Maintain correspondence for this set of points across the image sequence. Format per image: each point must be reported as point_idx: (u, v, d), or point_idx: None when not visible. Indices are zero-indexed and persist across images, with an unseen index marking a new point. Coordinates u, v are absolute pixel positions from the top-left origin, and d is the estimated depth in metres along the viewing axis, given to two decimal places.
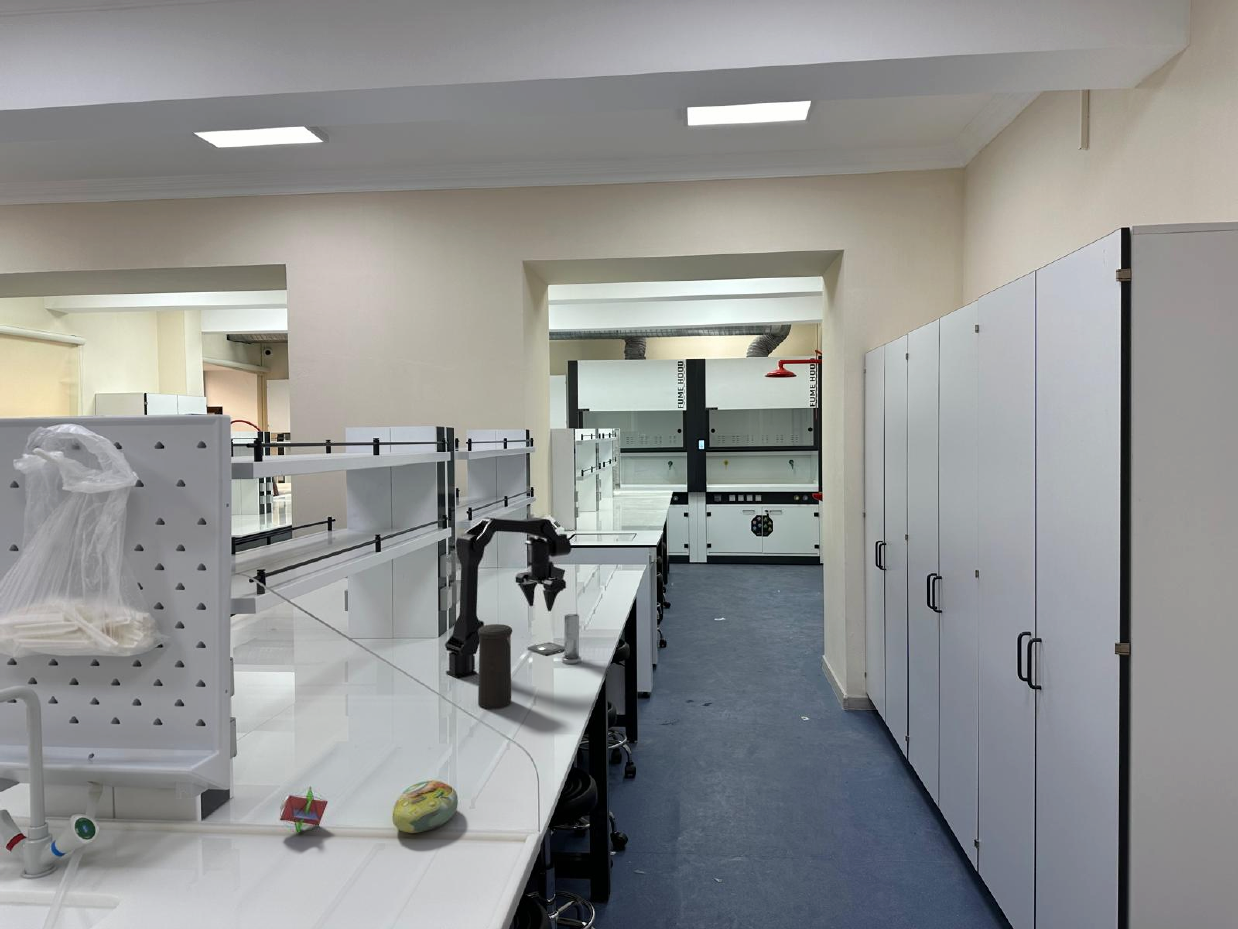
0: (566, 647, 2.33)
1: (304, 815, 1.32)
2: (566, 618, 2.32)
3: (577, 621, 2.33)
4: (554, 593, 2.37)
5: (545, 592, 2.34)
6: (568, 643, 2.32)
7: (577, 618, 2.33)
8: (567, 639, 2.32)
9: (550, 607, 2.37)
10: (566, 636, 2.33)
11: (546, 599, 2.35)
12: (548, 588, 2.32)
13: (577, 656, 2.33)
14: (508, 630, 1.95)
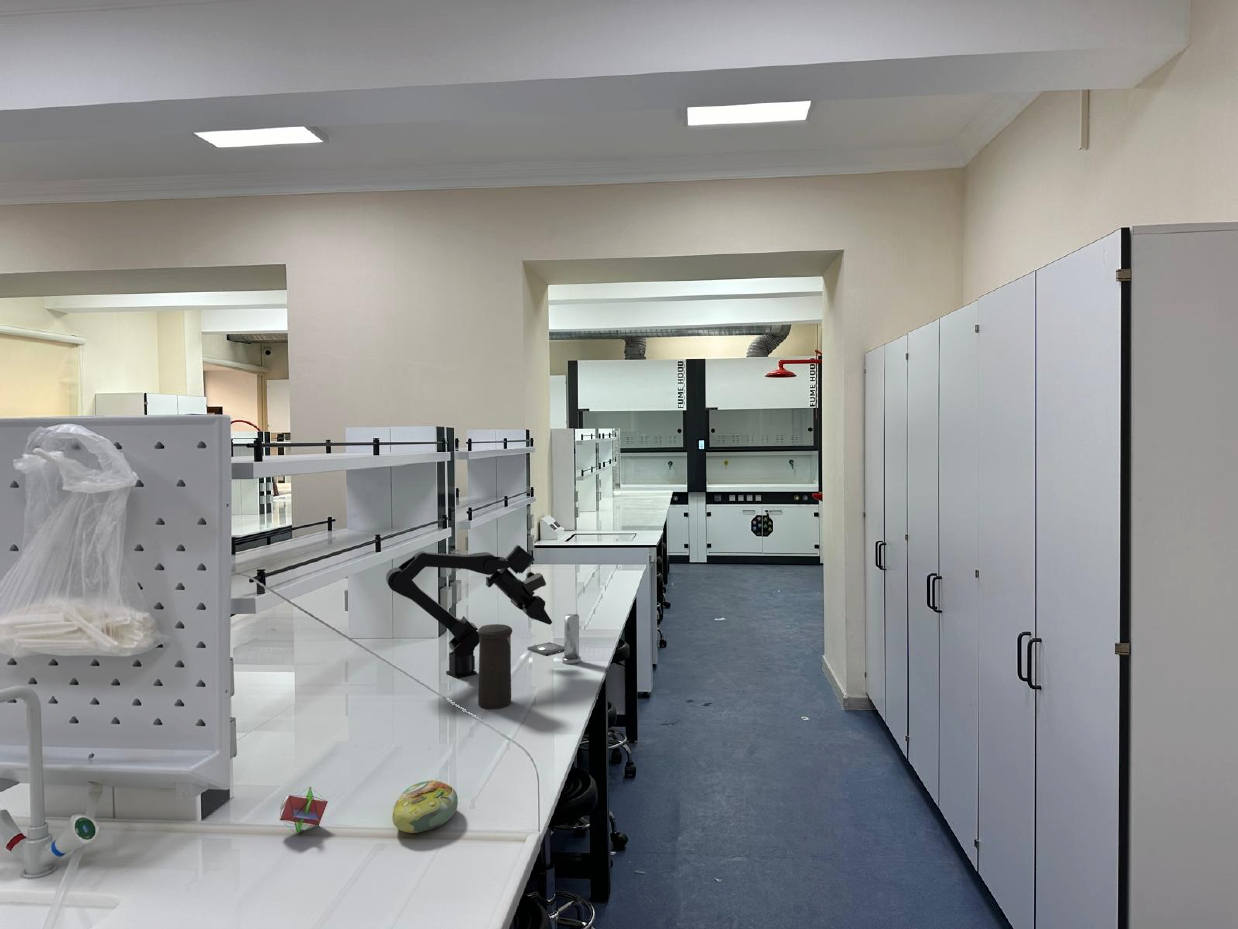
0: (566, 647, 2.33)
1: (304, 815, 1.32)
2: (566, 618, 2.32)
3: (577, 621, 2.33)
4: (541, 610, 2.24)
5: None
6: (568, 643, 2.32)
7: (577, 618, 2.33)
8: (567, 639, 2.32)
9: (549, 621, 2.26)
10: (566, 636, 2.33)
11: (538, 620, 2.24)
12: (528, 616, 2.20)
13: (577, 656, 2.33)
14: (508, 630, 1.95)
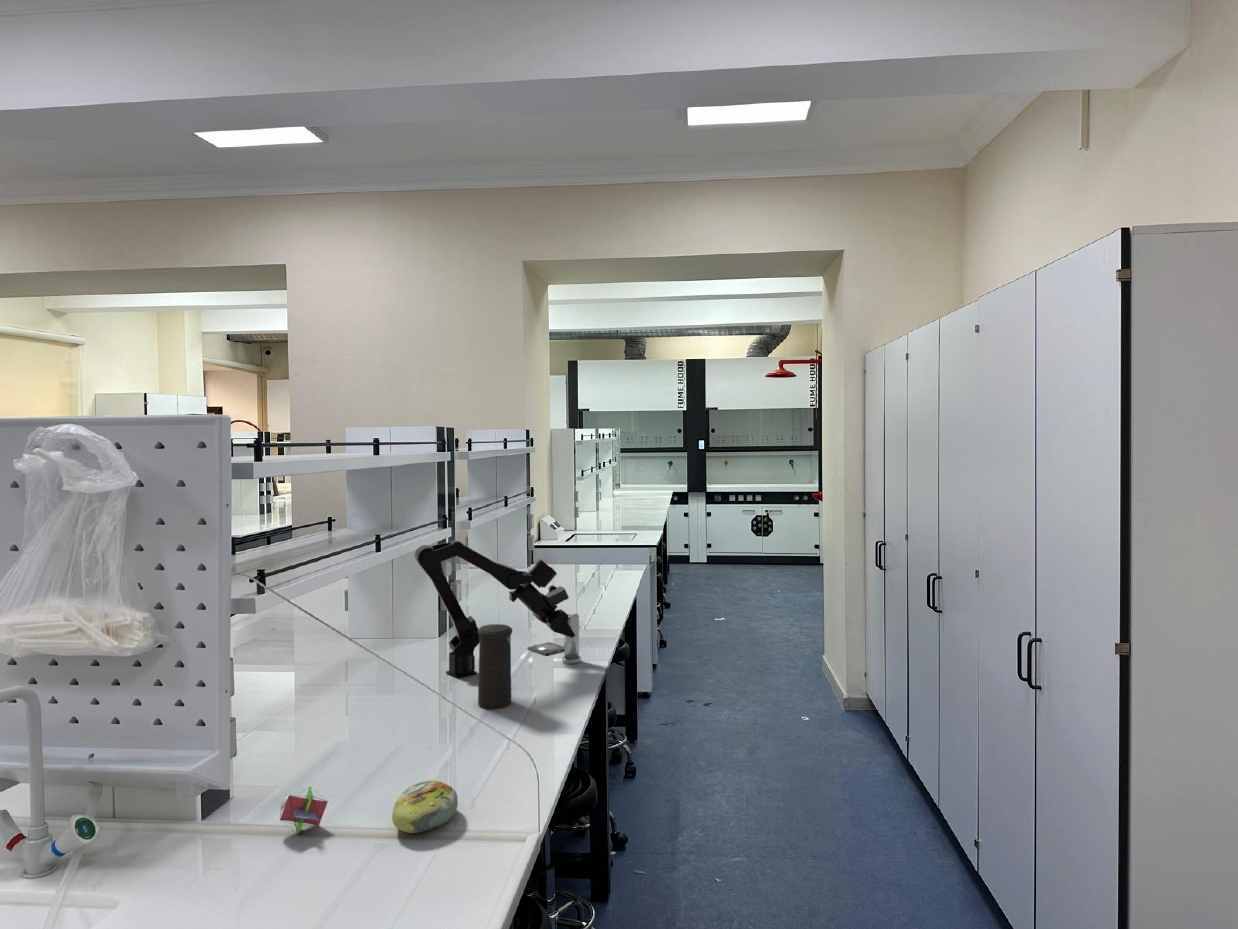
0: (566, 647, 2.33)
1: (304, 815, 1.32)
2: None
3: (577, 621, 2.33)
4: (564, 623, 2.27)
5: None
6: (568, 643, 2.32)
7: (577, 618, 2.33)
8: (567, 639, 2.32)
9: (572, 634, 2.29)
10: (566, 636, 2.33)
11: (561, 633, 2.27)
12: (552, 630, 2.23)
13: (577, 656, 2.33)
14: (508, 630, 1.95)
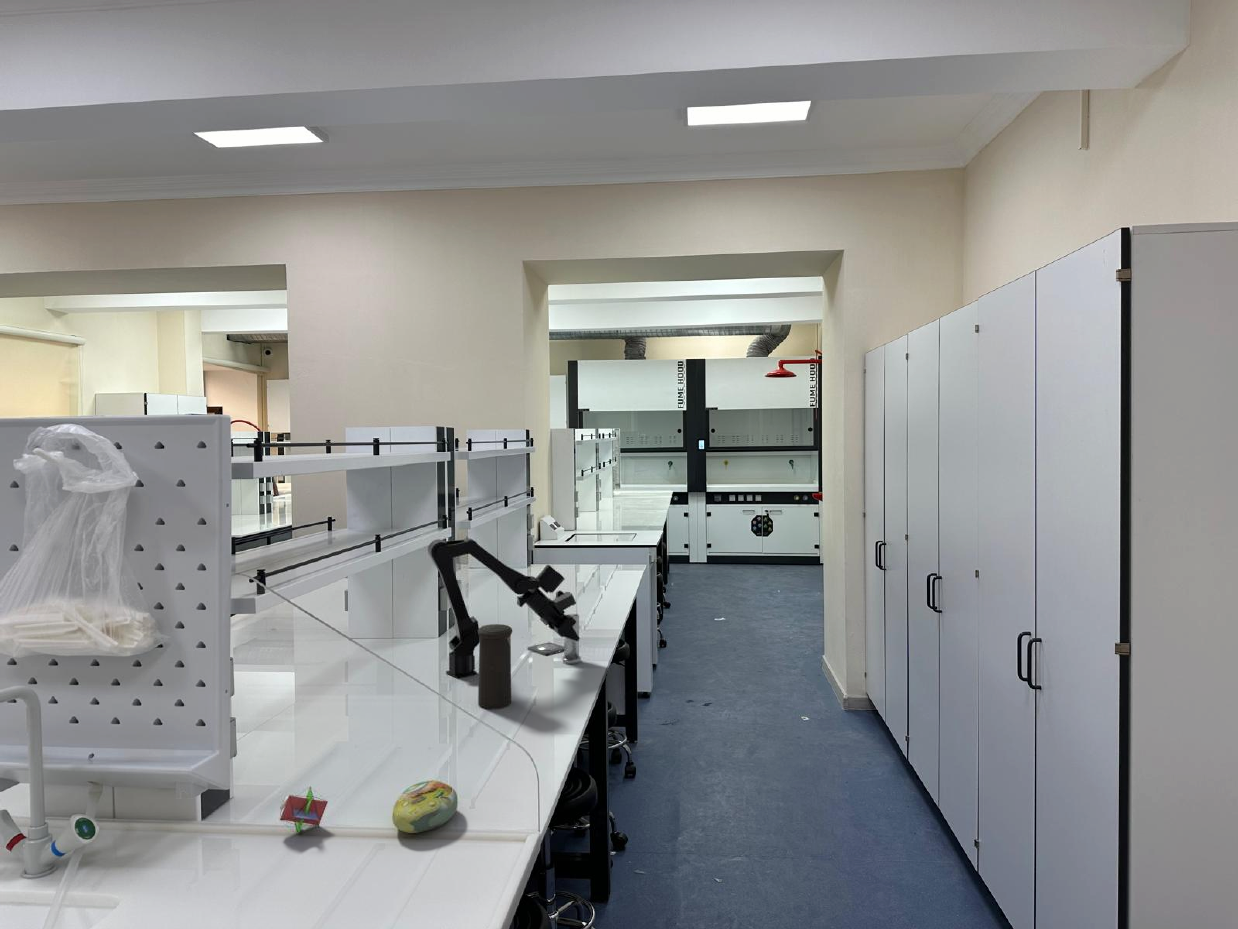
0: (566, 647, 2.33)
1: (304, 815, 1.33)
2: None
3: (577, 621, 2.33)
4: None
5: None
6: (568, 643, 2.32)
7: (577, 618, 2.33)
8: (567, 639, 2.32)
9: (577, 637, 2.32)
10: None
11: (566, 637, 2.30)
12: (559, 635, 2.24)
13: (577, 656, 2.33)
14: (508, 630, 1.95)
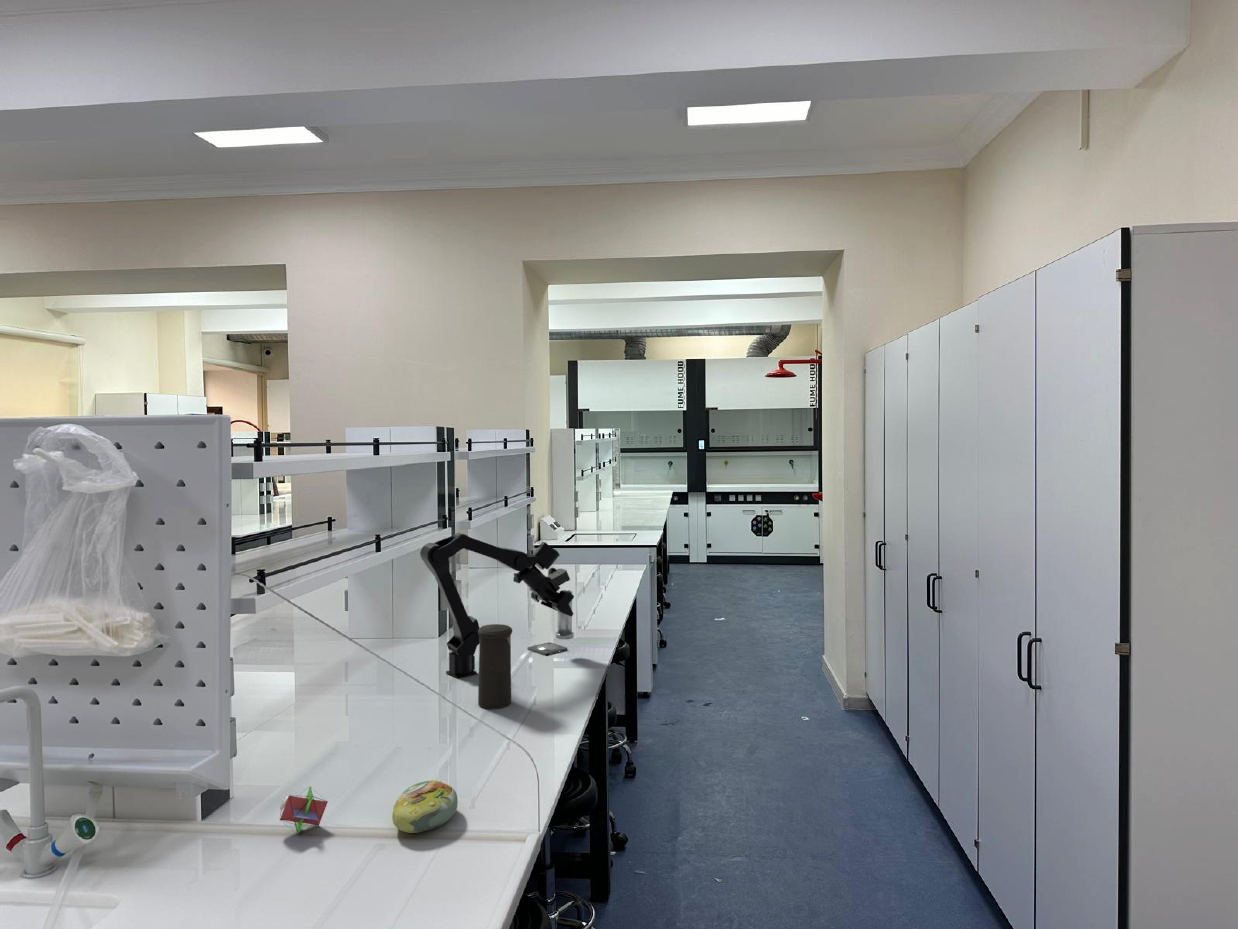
0: (560, 622, 2.37)
1: (304, 815, 1.32)
2: None
3: None
4: None
5: None
6: (562, 618, 2.37)
7: None
8: (561, 615, 2.37)
9: (571, 613, 2.37)
10: (560, 612, 2.37)
11: (561, 612, 2.34)
12: (558, 610, 2.29)
13: (570, 631, 2.38)
14: (508, 630, 1.95)
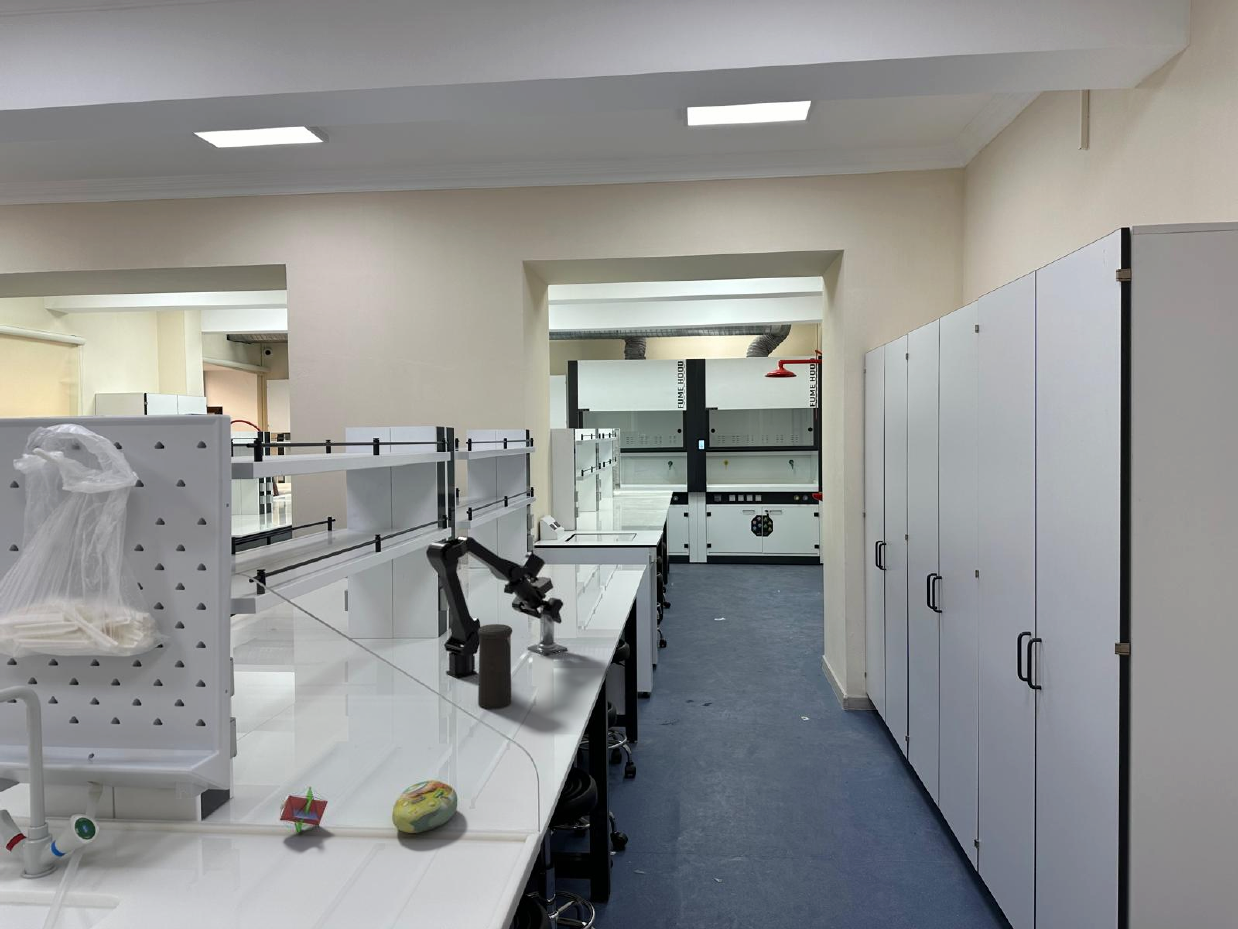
0: (544, 634, 2.45)
1: (304, 815, 1.32)
2: None
3: None
4: None
5: (549, 618, 2.39)
6: (546, 629, 2.45)
7: None
8: (545, 626, 2.44)
9: (560, 620, 2.44)
10: (544, 623, 2.45)
11: (553, 620, 2.41)
12: (550, 617, 2.37)
13: (553, 641, 2.47)
14: (508, 630, 1.95)
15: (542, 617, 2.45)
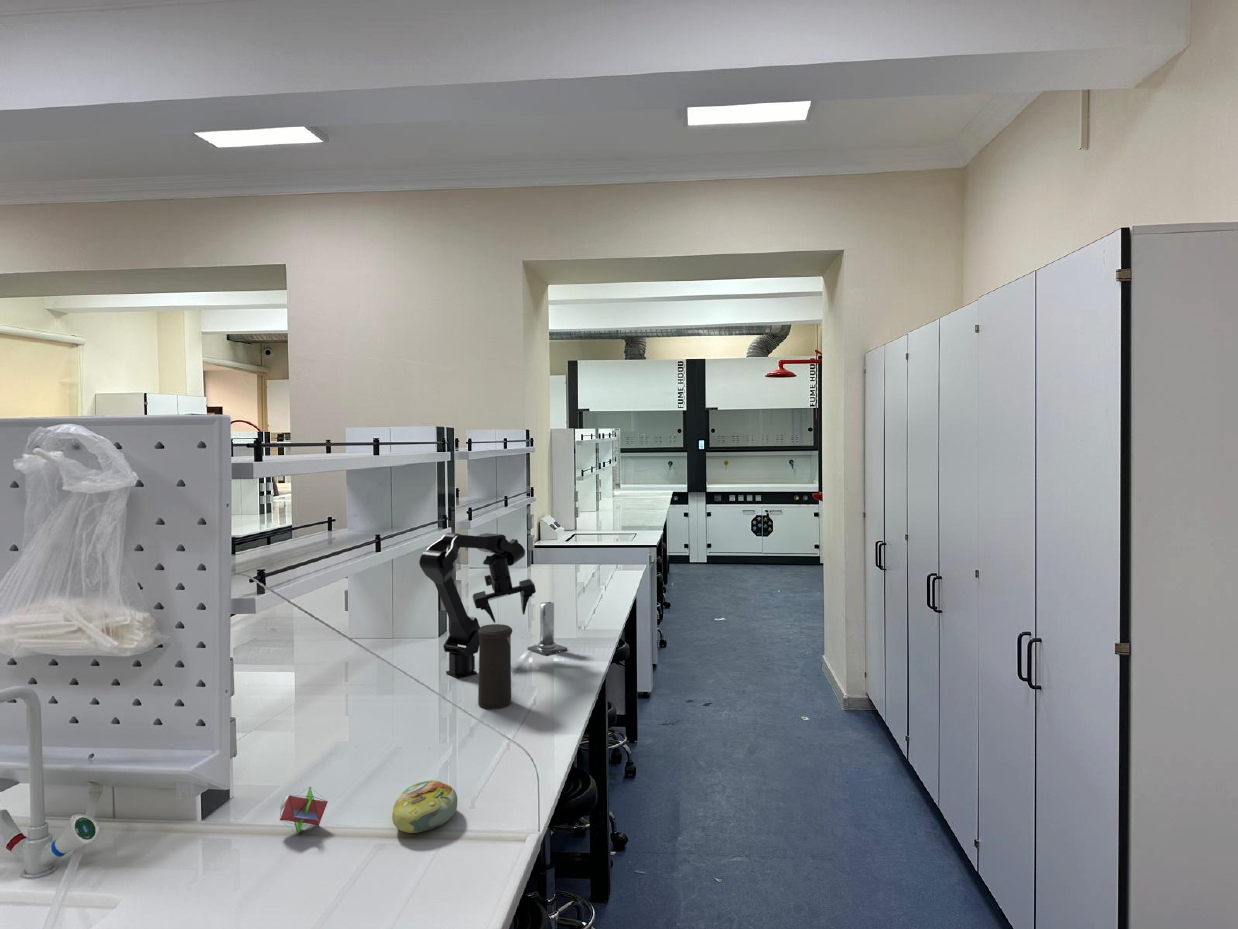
0: (544, 634, 2.45)
1: (304, 815, 1.32)
2: (544, 606, 2.44)
3: (553, 608, 2.46)
4: None
5: (527, 597, 2.38)
6: (546, 629, 2.45)
7: (553, 605, 2.46)
8: (545, 626, 2.44)
9: None
10: (544, 623, 2.45)
11: (525, 604, 2.39)
12: (531, 592, 2.38)
13: (553, 641, 2.47)
14: (508, 630, 1.95)
15: (542, 617, 2.45)
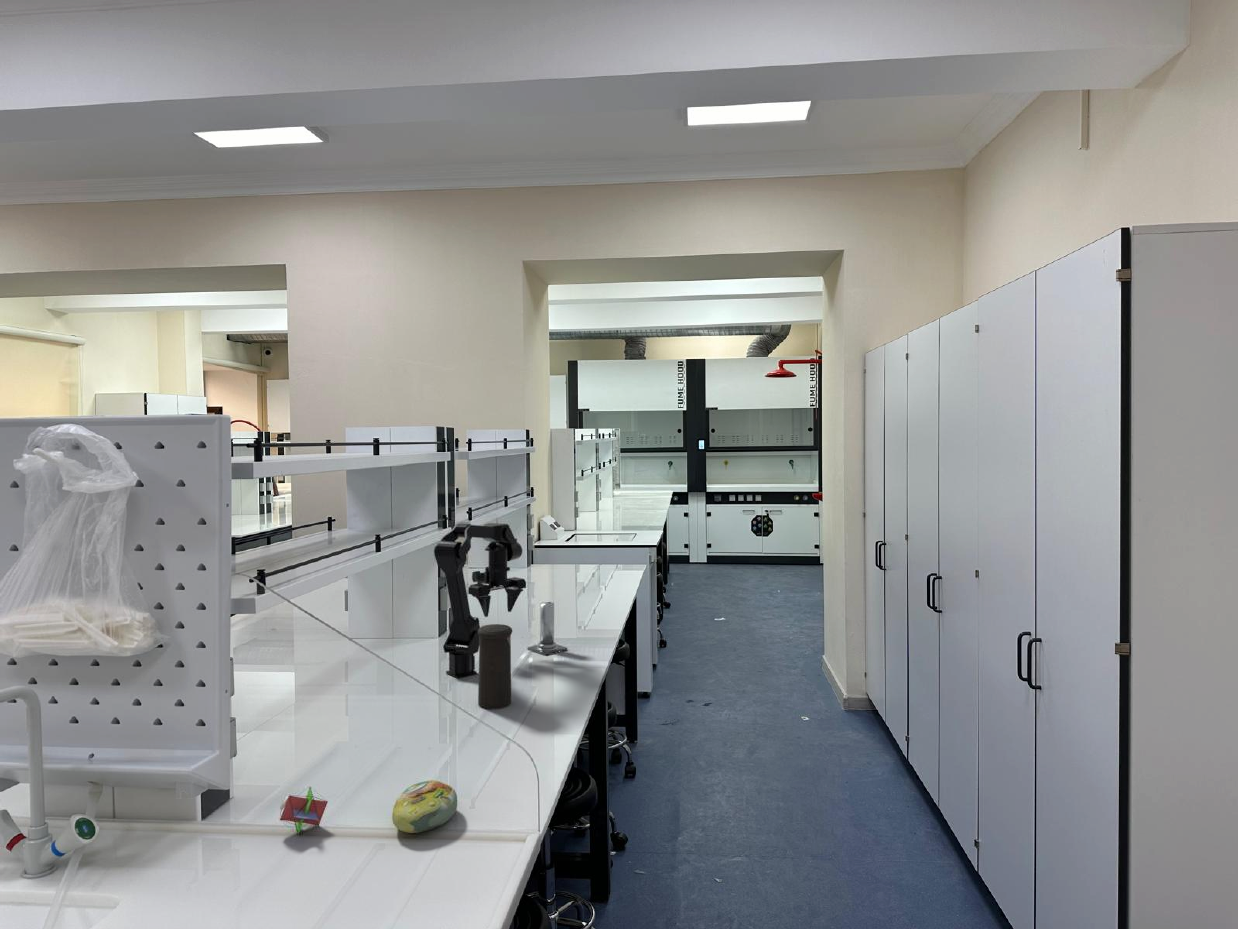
0: (544, 634, 2.45)
1: (304, 815, 1.32)
2: (544, 606, 2.44)
3: (553, 608, 2.46)
4: None
5: (519, 591, 2.42)
6: (546, 629, 2.45)
7: (553, 605, 2.46)
8: (545, 626, 2.45)
9: None
10: (544, 623, 2.45)
11: (515, 599, 2.42)
12: (524, 586, 2.43)
13: (553, 641, 2.47)
14: (508, 630, 1.95)
15: (542, 617, 2.45)
